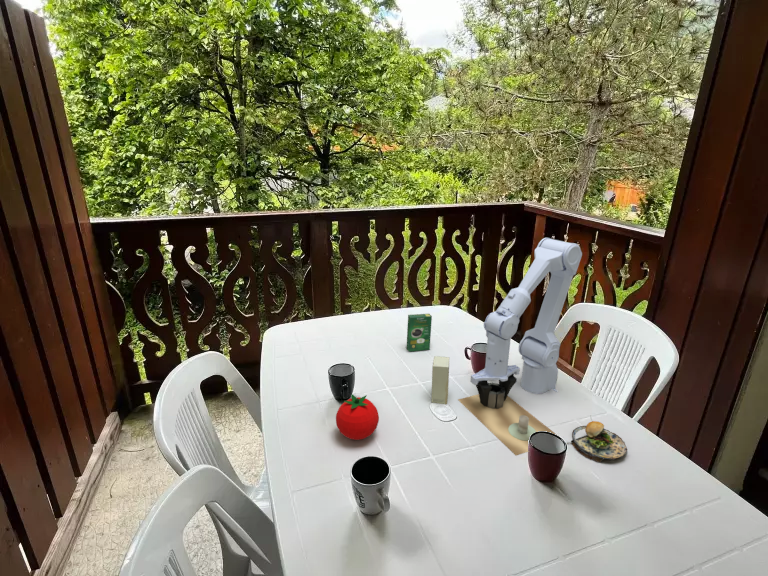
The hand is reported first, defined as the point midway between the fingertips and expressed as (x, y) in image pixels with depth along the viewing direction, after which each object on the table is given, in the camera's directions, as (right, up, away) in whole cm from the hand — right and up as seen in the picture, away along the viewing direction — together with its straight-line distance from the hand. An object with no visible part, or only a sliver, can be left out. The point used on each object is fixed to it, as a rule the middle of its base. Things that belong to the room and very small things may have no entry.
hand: (492, 401), depth 112 cm
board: (+2, -3, -6) cm, 7 cm away
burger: (+21, -7, -15) cm, 26 cm away
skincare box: (-14, -1, +3) cm, 15 cm away
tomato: (-36, -5, -11) cm, 38 cm away
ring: (0, 0, 0) cm, 0 cm away
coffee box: (-18, +9, +33) cm, 38 cm away
